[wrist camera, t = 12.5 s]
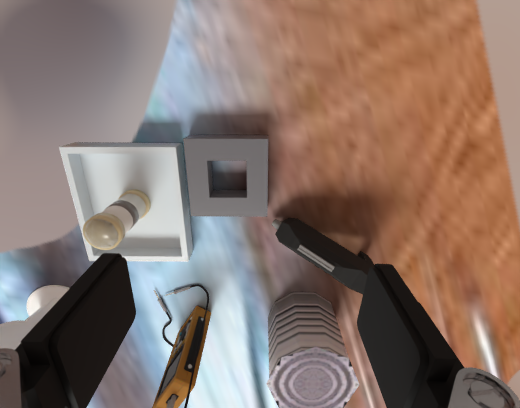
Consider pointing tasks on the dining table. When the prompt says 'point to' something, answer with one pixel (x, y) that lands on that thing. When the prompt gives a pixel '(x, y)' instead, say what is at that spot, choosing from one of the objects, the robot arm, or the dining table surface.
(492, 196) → the dining table surface
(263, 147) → the grey flat square block
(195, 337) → the multimeter
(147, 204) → the cylinder
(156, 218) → the parts tray
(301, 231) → the gun
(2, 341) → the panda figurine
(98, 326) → the robot arm
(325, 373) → the can
